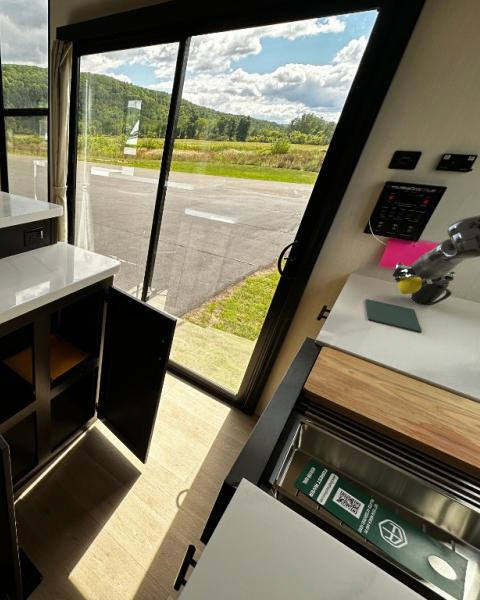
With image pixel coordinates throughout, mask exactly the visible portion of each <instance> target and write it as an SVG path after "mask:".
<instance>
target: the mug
mask: <svg viewBox="0 0 480 600" xmlns="http://www.w3.org/2000/svg"><path fill="white" fill-rule="evenodd" d="M421 279H422V280H423V279H424V278H421ZM450 284H451V283H450V281H449V282H446V283H443V284H440V285H437V284H435V283H432V284H428V285H427V286H423V287H422V286H421V288H420V289H419V290H418V291H417V292H415V293H411V295H410V296H411V297H410V300H411V299H412V300H413V301H412V300H411V301H412V302H414V301H415V302H414V303H416V302H417V304H419V303H420V304H419V305H423V304H424V305H423V306H425V305H426V306H434V305H437V304H438V303H440V302H442V301H444V300H446V299H448V298H450V297H451V295H452V293H453V292H452V290H451V289H449V288H448V287H449V285H450ZM443 294H444V295H443ZM442 295H443V296H442Z"/></svg>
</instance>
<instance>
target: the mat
mask: <svg viewBox="0 0 480 600" xmlns="http://www.w3.org/2000/svg"><path fill="white" fill-rule="evenodd" d="M365 306H366V307H365V308H366V315H367V320H368V321H371V322H373V323H374V322H375V323H379V324H383V325H387V326H391V327H395V328H400V329H404V330H407V331H412V332H415V333H420V334H422V333H423V330H422V327H421V325H420V322H419V319H418V317H417V313H416V310H415V309H414V308H410V307H405V306H400V305H396V304H391V303H388V302H382V301H377V300H372V299H369V298H366V299H365Z"/></svg>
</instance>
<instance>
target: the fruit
mask: <svg viewBox="0 0 480 600" xmlns="http://www.w3.org/2000/svg"><path fill="white" fill-rule="evenodd" d="M397 283H398V285H397V287H398V290H399V291H400V293H401V294H402V295H409V294H410V295H412V293H415V292H417V291H418V290H419V289H420V288H421V286H422V279H421V278H420V277H413V278H403V279H402V280H401V281H400V282H397Z"/></svg>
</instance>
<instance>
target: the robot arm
mask: <svg viewBox="0 0 480 600" xmlns="http://www.w3.org/2000/svg"><path fill="white" fill-rule="evenodd" d="M446 232H447V236H448V238H447V239H445V240H443V241H441V242H440V243H438V244H437V245H436V246H434V247H433V248H431V249H430V250H428V251H426V252H425V253H424V254H422V255H421V256H420V257H419V258H417V259H416V260H415V261H414V262H413V263H412V264H409V265H404V264H403V263H402V262H397V263H396V265H395V266H394V269H393V271H392V272H393V273H392V277H394V281H395V282H396V283H399V282H400V281H401V280H402V279H403V278H413V277H420V278H424V279H423V280H422V287H423V286H427V285H428V284H432V283H435V284H437V285H440V284H443V283H446V282H449V283H450V282H453V281H454V279H455V276H456V272H455V271H453V270H454V269H456V268H457V267H458V266H459V265H461V264H462V263H464V262H466V261H468V260H471V259H476V258H480V214H478V215H473V216H469V217H463V218H460V219H458V220H456V221H454V222H452V223H451V224H450V225H449V226H448V227H447V229H446Z"/></svg>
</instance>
